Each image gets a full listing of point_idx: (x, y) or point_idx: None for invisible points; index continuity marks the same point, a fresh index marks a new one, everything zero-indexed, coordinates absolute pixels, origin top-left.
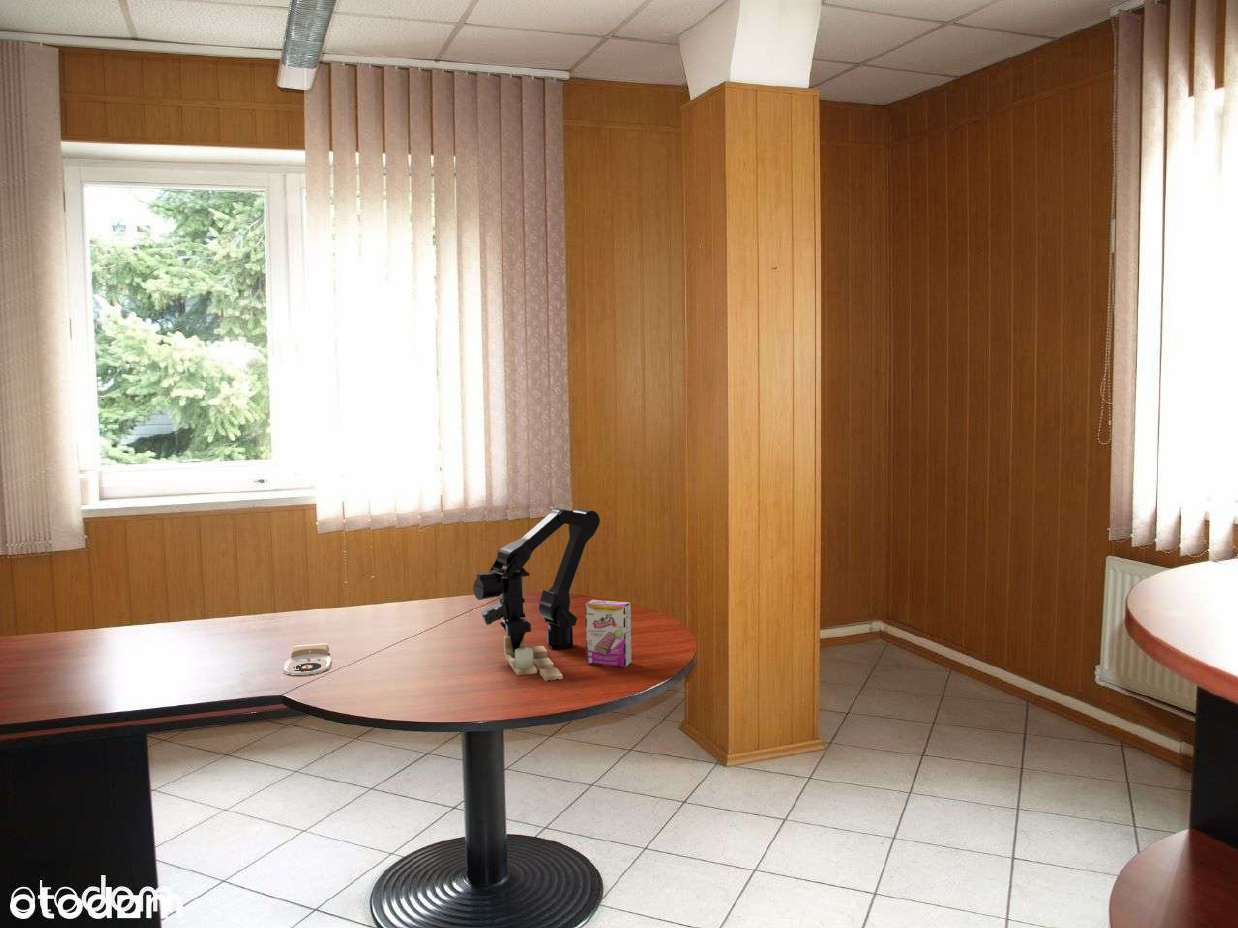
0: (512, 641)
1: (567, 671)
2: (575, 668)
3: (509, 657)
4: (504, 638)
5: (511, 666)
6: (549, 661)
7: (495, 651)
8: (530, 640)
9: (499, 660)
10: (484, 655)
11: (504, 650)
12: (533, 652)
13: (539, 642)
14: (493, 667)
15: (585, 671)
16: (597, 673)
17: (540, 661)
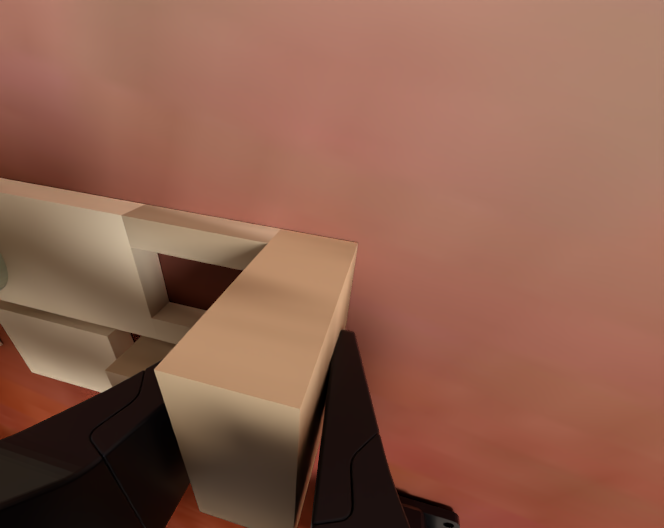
0: (144, 378)
1: (9, 370)
2: (49, 403)
3: (164, 235)
4: (214, 361)
5: (48, 187)
6: (70, 377)
7: (551, 219)
8: (621, 508)
9: (223, 153)
10: (484, 38)
11: (316, 264)
12: (114, 382)
13: (523, 507)
14: (18, 25)
15: (19, 406)
16: (4, 417)
17: (68, 349)
